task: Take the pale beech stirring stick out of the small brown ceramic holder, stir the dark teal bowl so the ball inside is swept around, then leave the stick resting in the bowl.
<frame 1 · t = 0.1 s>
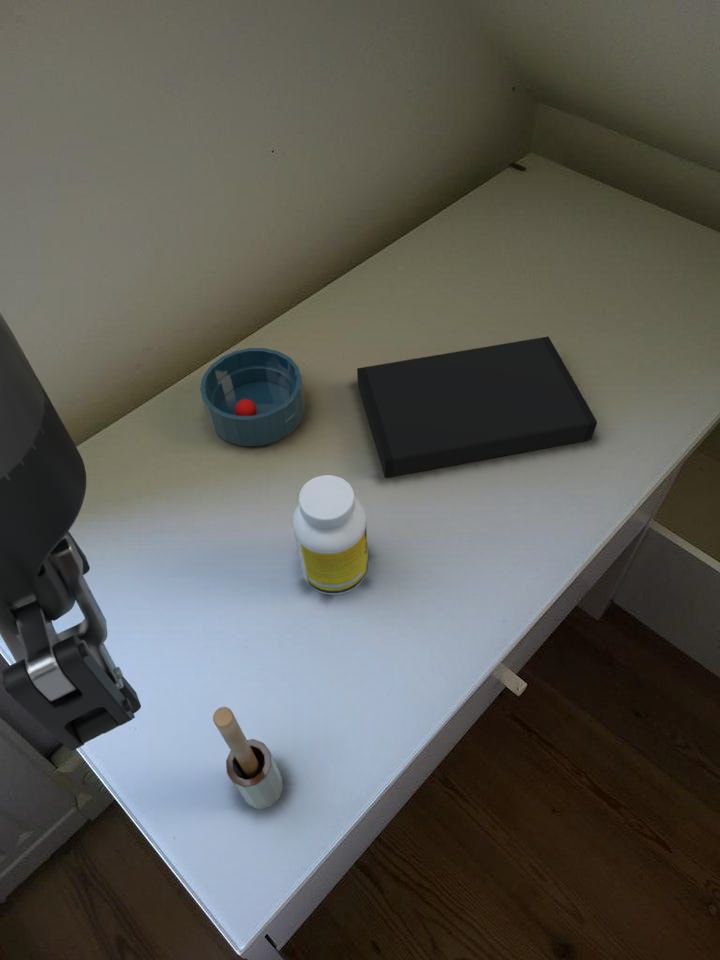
hand: (93, 640, 34), 26 cm above the table, tool pointing down, fingers open, 8 cm apart
ball: (245, 409, 77), point 2 cm above the table, touching bowl
pill bottle: (335, 568, 67), on the table
holder: (262, 787, 55), on the table
bowl: (257, 413, 79), on the table
external hard drive: (469, 413, 78), on the table
stick: (261, 784, 54), point 1 cm above the table, touching holder
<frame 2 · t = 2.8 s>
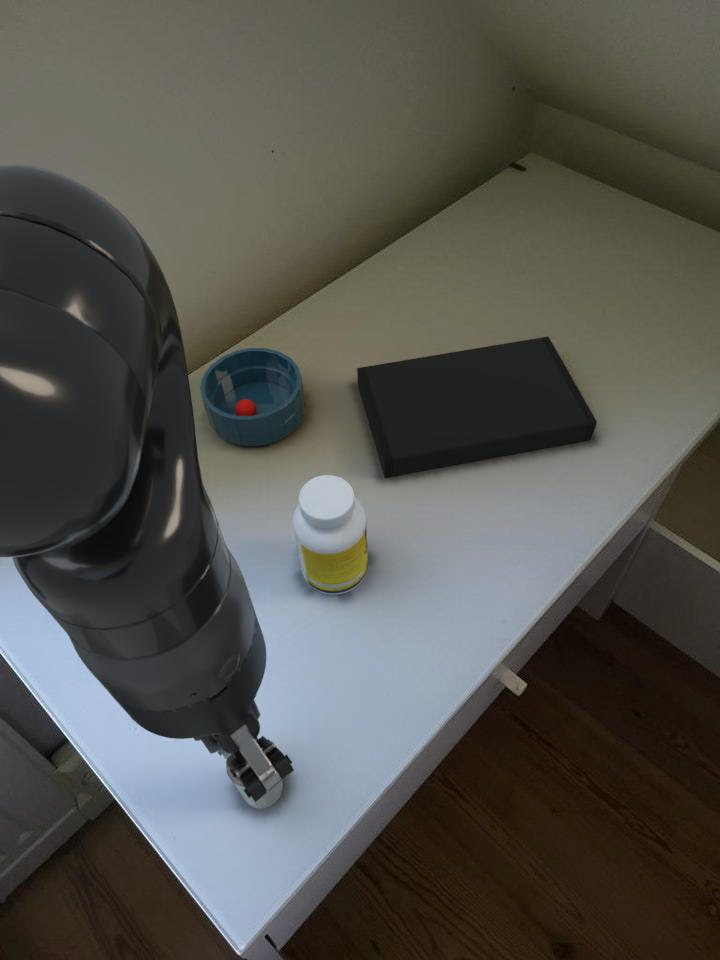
hand: (237, 741, 45), 12 cm above the table, tool pointing down, fingers closed on stick, 1 cm apart
stick: (261, 784, 54), point 1 cm above the table, touching gripper, holder
everything else where it was.
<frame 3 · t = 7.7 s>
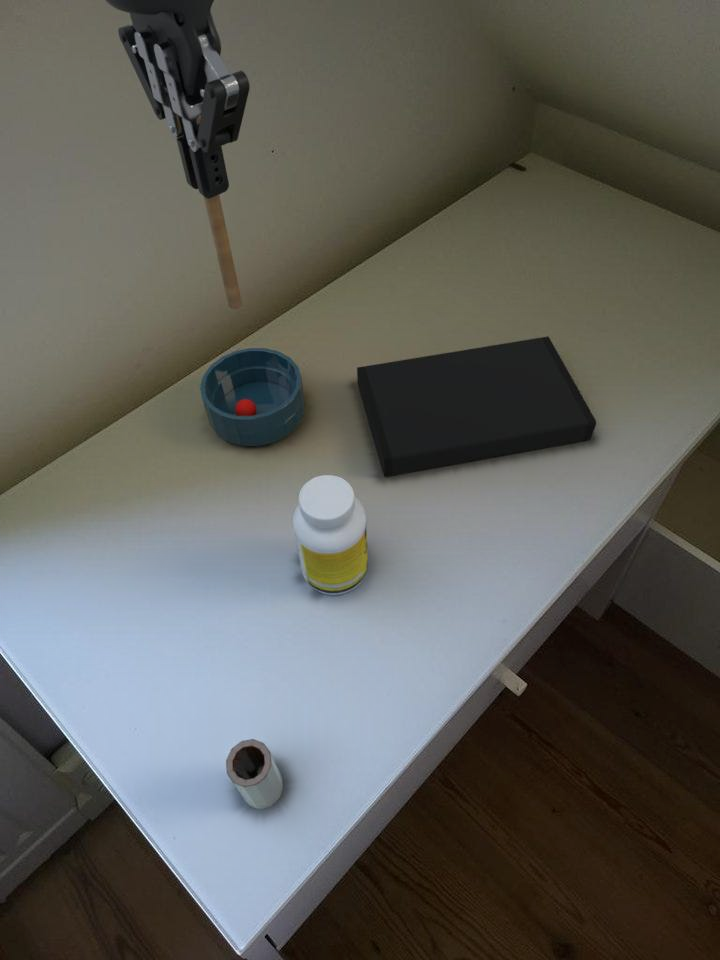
hand: (209, 188, 52), 30 cm above the table, tool pointing down, fingers closed on stick, 1 cm apart
stick: (235, 304, 61), point 19 cm above the table, touching gripper
everything else where it was.
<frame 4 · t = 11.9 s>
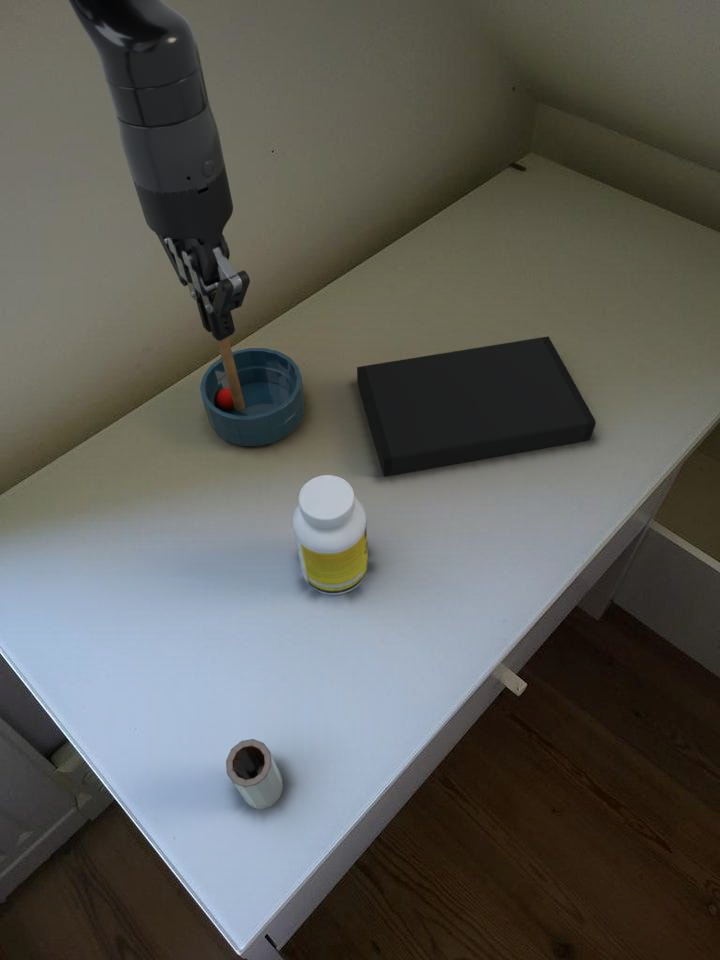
hand: (220, 331, 69), 12 cm above the table, tool pointing down, fingers closed on stick, 1 cm apart
ball: (227, 398, 78), point 2 cm above the table, tilted 139°, touching bowl, stick
stick: (240, 407, 78), point 1 cm above the table, touching gripper, ball
everything else where it was.
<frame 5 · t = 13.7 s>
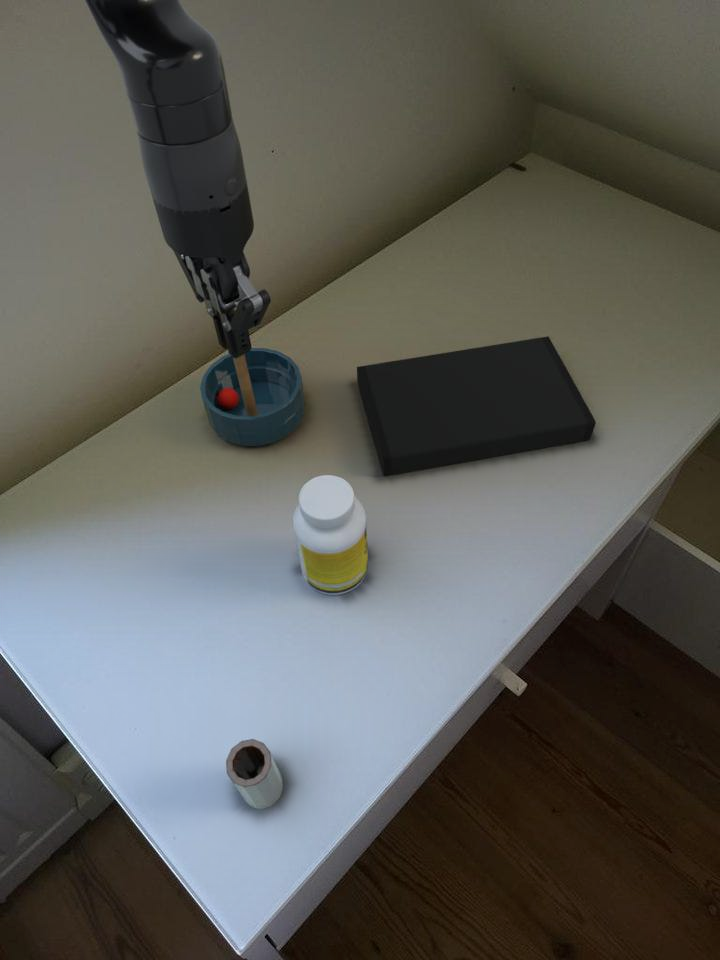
hand: (236, 348, 68), 12 cm above the table, tool pointing down, fingers closed on stick, 1 cm apart
ball: (228, 398, 78), point 2 cm above the table, tilted 134°, touching bowl
stick: (254, 422, 77), point 1 cm above the table, touching gripper
everything else where it was.
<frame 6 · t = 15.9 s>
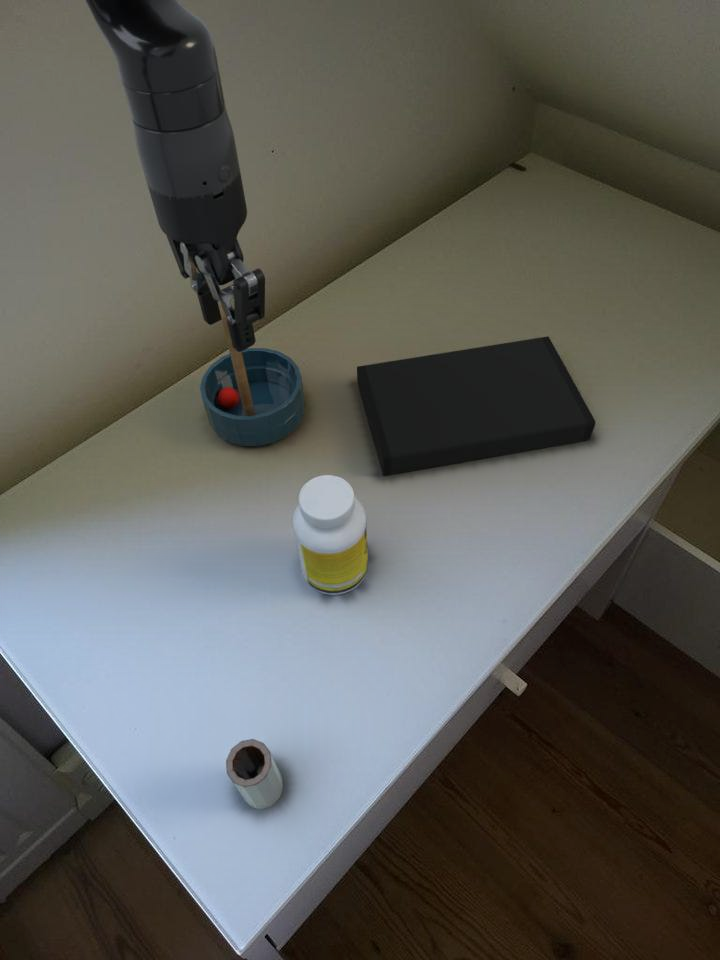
hand: (230, 332, 69), 13 cm above the table, tool pointing down, fingers open, 4 cm apart
stick: (250, 414, 78), point 1 cm above the table, touching bowl
everything else where it was.
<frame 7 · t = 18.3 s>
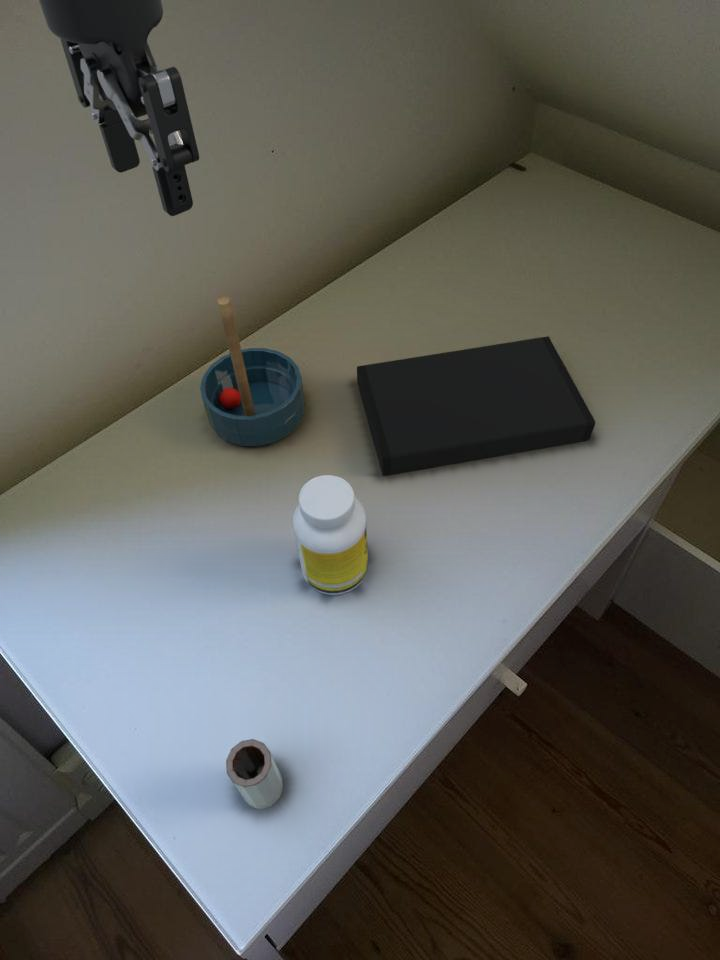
hand: (152, 188, 55), 29 cm above the table, tool pointing down, fingers open, 8 cm apart
ball: (230, 398, 78), point 2 cm above the table, tilted 125°, touching bowl
everything else where it was.
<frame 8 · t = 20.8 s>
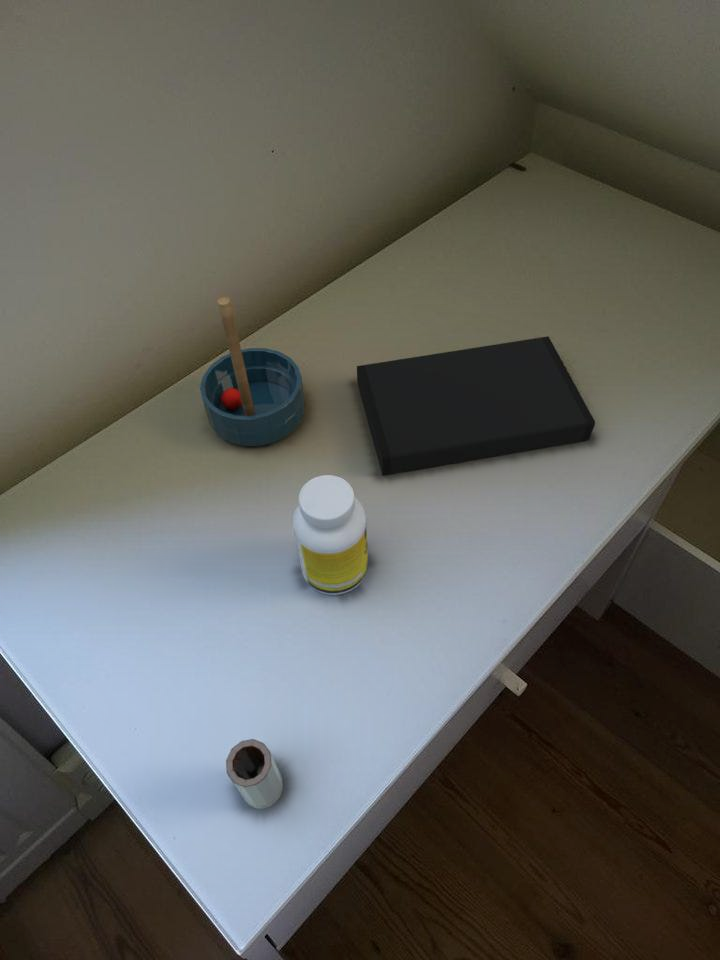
ball: (231, 398, 78), point 2 cm above the table, tilted 114°, touching bowl
everything else where it was.
at the end: ball moved 2.5 cm from its start; ball inside the target area in the bowl (2.8 cm from its centre), point 1.8 cm above the bowl's base; stick inside the target area in the bowl (1.1 cm from its centre), point 0.6 cm above the bowl's base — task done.
